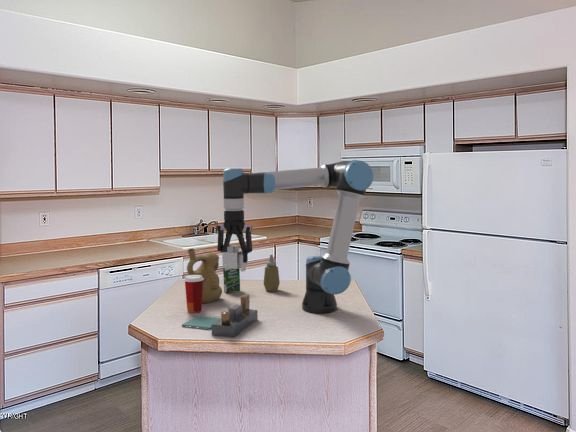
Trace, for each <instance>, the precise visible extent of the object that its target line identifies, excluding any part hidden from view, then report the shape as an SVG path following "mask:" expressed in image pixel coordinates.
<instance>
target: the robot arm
mask: <svg viewBox="0 0 576 432" xmlns="http://www.w3.org/2000/svg"><path fill="white" fill-rule="evenodd" d="M222 175H223V179H222V187H223V189H222V191H223V210H224V211H223V221H224V222H223V224H219V225H217V226H216V228H217V252H219V253H222V252H224V251H227V247H228V246H230V243H231V239H232V236H233V235H236V238H237V239H238V243H239V247H240V249H241V250H242V254H241V268H240V272H242V273H243V272H245V271H246V268H247V267H246V266H247V265H246V262H247V263H248V259H249V258H248V254H249V253H251V252H253V242H252V229H253V226H252V225H247V224H246V223H245V211H244V209H245V195H244V194H272V193H274V191H275V190H276V191H277V190H285V189H294V188H307V187H310V188H311V187H318V186H320V187H321V186H322V187H323V188H336V190H335V191H336V193H337V194H338V197H337V202H336V203H337V204H336V208H335V212H334V216H333V221H332V226H331V231H330V234H329V239H328V244H327V249H326V253H324V254H323V255H314V256H313V255H312V256H308V257H306V259H305V261H306V262H305V293H304V295H303V296H304V297H303V300H302V302H301V303H302V304H301V308H302V310H303V311H305V312H308V313H313V314H328V313H333V312H335V311H337V310H338V303H337V300H336V296H335V295H340V294H342V293H344V292H346V291H347V289H348V288H349V286H350V285H351V281H352V278H351V277H352V276H351V273H350V271H349V269H350V266H351V265H350V264H351V263H350V261H349V259H348V256H349V252H350V251H349V250H350V245H351V242H352V237H353V232H354V228H355V223H356V219H357V215H358V210H359V205H360V201H361V199H364V198H365V196H366V191H367V189H368V188H370V187H371V185H372V184H373V181H374V172H373V169H372V168H371V166H370V164H368V163H367V162H365V161H364V160H360V159H359V160H357V159H353V160H341V161H337V162H333V163H328V164H323V165H321V166H320V167H311V168H299V169H289V170H286V169H285V170H276V171H275V170H274V171H264V172H249V173H244V169H243V168H226V169H223V174H222ZM243 230H244V232H243ZM225 232H226V233H225ZM244 233H245V237H244ZM224 234H225V236H224ZM224 237H225V238H224ZM227 270H229V268H225V271H227Z"/></svg>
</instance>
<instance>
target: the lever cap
mask: <svg viewBox="0 0 576 432" xmlns="http://www.w3.org/2000/svg"><path fill="white" fill-rule="evenodd" d="M239 247H240V244H231V245H229V246H228V247H227V251H224V252H221V254H222V258H221V259H222V261H221V262H222V269H223V268H229V269H238V268H239V269H241V254H242V250H241V248H239ZM247 265H248V261H247V262H246V266H247Z"/></svg>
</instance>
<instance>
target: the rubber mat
mask: <svg viewBox="0 0 576 432" xmlns="http://www.w3.org/2000/svg"><path fill="white" fill-rule="evenodd" d="M219 319H221V317H213V316H204V315H196V316H194V317H192V318H191V319H189V320H188V321H186V322H183V323H182V324H181V327H182V326H191V327H199V328H206V329H205V330H207V329H210V328H212V325H211V324H213V323H214V322H216V321H218V320H219ZM199 328H198V329H199ZM210 330H211V329H210Z"/></svg>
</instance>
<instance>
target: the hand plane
mask: <svg viewBox="0 0 576 432" xmlns="http://www.w3.org/2000/svg"><path fill="white" fill-rule="evenodd" d="M220 316H221V317H220V318H221V319H219V320H218V321H216V322H214V323H213V324H211V325H212V329H211V336H218V337H225V338H235V337H237V336H239V335H240V334H241V333H242V332H244V331H245V330H246V329H247V328H249V327H251V326H252V325H253V324H254V323H256V321H258V320H259V319H258V309H250V294H246V293H245V294H243V295H241V296H240V304H239V303H238V304H236V303H235V304H233V305H231V306H230V307H228V310H227V311H222V312H221V313H220Z"/></svg>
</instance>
